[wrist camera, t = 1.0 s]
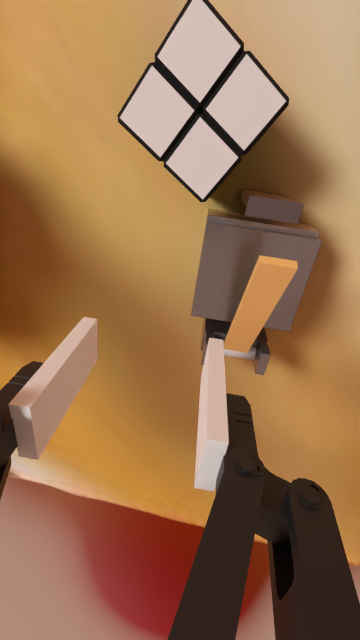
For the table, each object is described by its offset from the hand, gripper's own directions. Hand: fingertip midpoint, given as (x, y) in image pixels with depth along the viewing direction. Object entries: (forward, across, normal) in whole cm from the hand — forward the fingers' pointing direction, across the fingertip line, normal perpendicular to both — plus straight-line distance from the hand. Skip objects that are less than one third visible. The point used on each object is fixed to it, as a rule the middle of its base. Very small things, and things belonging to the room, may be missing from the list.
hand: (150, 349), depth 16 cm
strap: (+15, +8, -4) cm, 17 cm away
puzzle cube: (+25, 0, +13) cm, 28 cm away
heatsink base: (+25, +8, -2) cm, 26 cm away
